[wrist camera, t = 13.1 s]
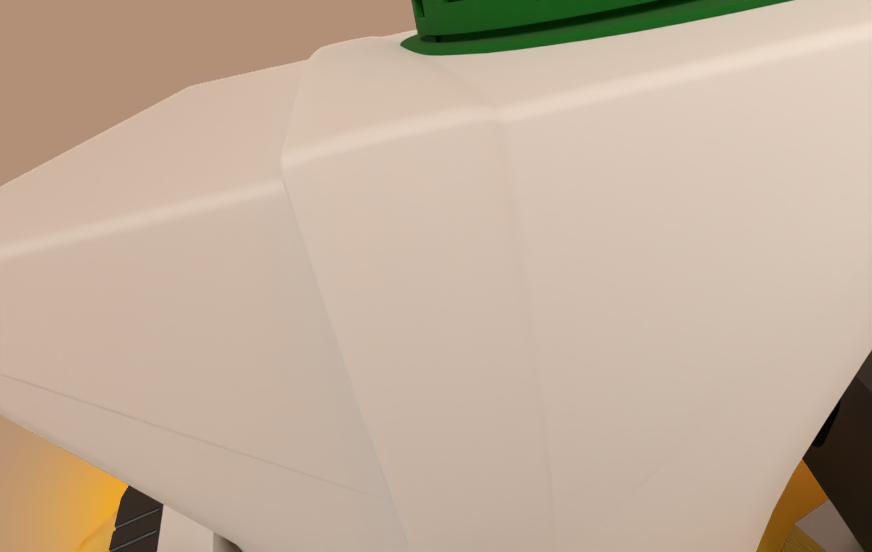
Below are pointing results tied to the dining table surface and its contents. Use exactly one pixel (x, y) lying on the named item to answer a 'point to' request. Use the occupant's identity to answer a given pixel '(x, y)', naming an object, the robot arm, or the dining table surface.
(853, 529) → the robot arm
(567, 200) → the soya milk
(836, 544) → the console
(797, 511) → the dining table surface
